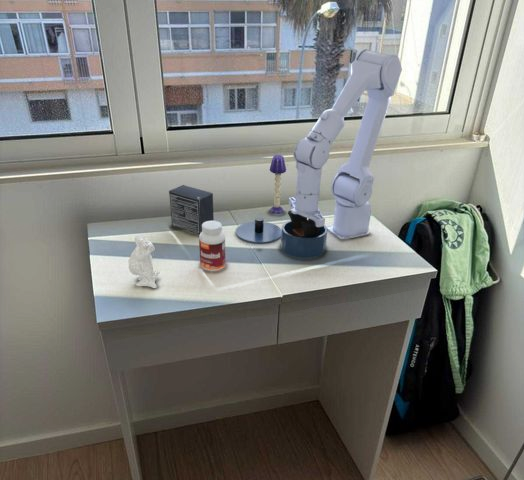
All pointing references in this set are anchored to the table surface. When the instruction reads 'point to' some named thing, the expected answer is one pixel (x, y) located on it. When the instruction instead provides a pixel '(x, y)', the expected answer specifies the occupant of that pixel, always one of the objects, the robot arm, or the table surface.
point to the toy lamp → (277, 181)
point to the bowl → (302, 242)
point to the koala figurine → (143, 263)
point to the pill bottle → (212, 246)
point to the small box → (190, 208)
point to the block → (298, 232)
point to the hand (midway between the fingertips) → (303, 241)
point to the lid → (258, 231)
